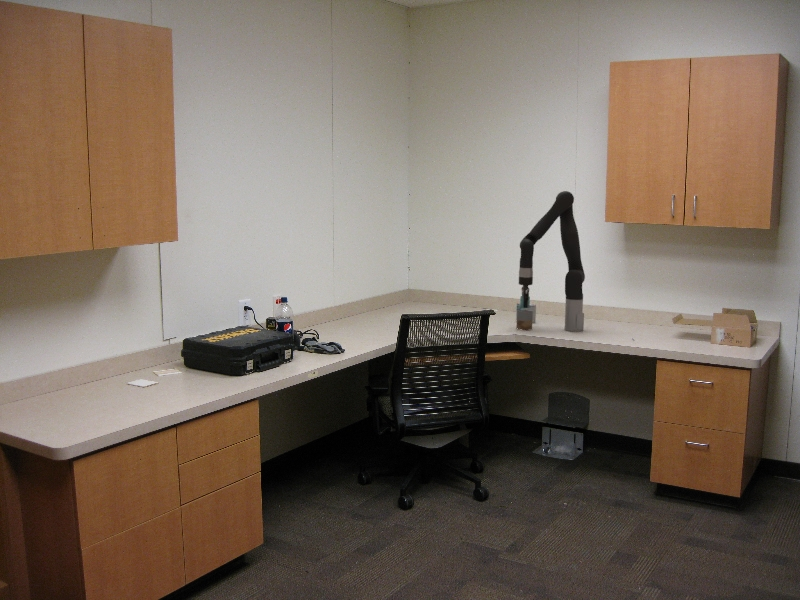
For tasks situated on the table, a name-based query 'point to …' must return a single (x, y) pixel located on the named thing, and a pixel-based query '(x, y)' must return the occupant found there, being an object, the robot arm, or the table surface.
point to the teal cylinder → (522, 302)
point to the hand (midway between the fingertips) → (524, 306)
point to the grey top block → (524, 315)
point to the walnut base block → (524, 325)
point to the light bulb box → (532, 308)
